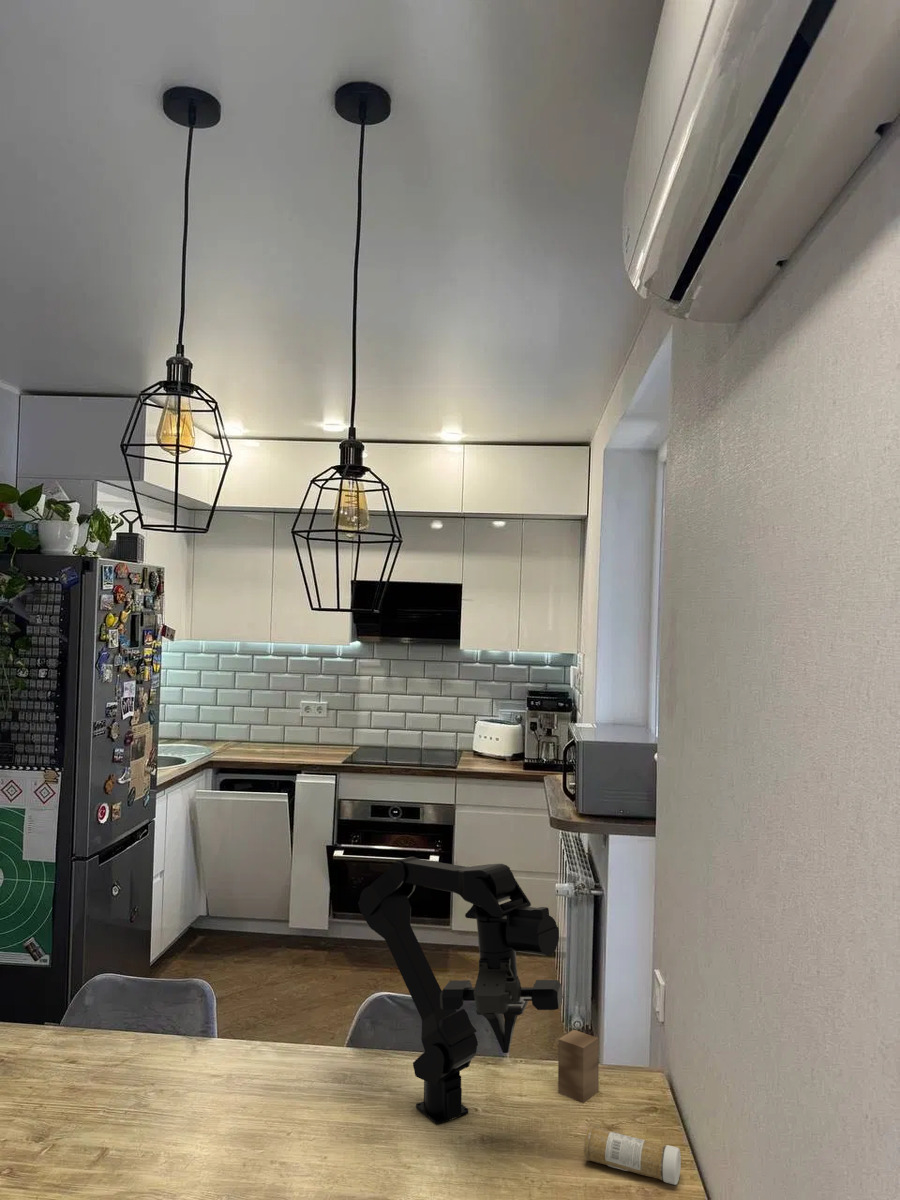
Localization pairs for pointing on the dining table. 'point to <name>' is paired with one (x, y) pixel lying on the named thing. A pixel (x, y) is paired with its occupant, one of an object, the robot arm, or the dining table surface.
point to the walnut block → (578, 1066)
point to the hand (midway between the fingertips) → (506, 1052)
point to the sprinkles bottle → (633, 1154)
